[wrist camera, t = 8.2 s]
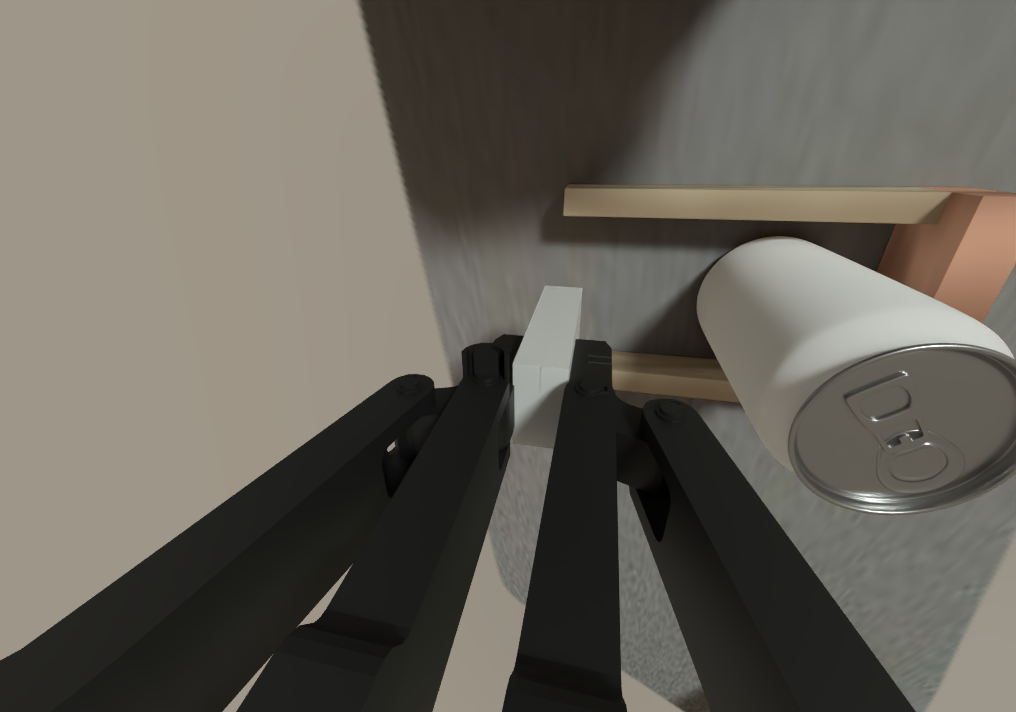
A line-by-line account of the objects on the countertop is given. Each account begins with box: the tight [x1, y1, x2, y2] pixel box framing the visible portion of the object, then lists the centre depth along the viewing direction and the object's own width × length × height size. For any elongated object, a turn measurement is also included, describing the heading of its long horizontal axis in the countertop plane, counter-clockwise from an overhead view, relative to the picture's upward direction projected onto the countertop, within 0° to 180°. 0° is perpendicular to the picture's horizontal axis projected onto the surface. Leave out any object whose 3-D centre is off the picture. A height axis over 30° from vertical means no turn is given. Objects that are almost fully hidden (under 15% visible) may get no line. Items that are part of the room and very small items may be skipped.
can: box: [697, 236, 1016, 515], centre depth 16 cm, size 6×6×12 cm
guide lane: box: [563, 184, 1016, 402], centre depth 20 cm, size 10×17×4 cm, turn 91°
